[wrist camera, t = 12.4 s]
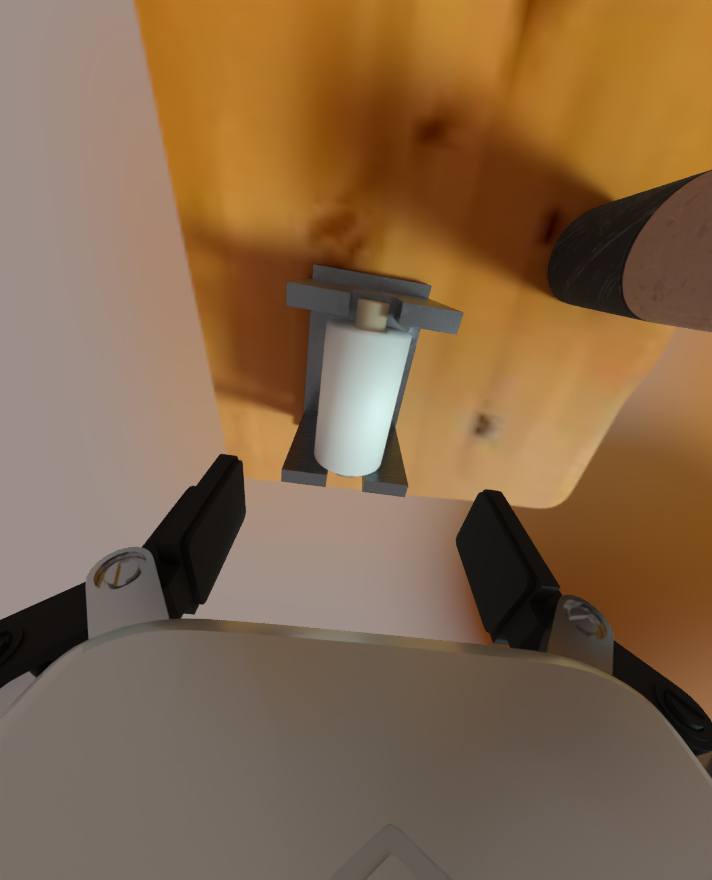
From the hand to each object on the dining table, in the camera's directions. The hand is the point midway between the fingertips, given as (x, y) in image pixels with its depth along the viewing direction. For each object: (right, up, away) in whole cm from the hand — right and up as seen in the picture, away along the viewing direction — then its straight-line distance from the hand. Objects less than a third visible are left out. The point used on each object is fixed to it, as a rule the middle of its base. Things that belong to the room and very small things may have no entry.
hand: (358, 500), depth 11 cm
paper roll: (0, +7, +12) cm, 14 cm away
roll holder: (0, +10, +18) cm, 20 cm away
